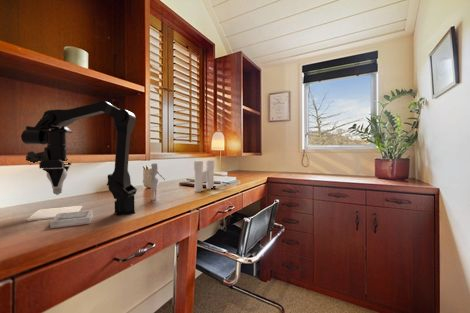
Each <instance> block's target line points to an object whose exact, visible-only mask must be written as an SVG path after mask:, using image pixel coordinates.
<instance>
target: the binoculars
mask: <svg viewBox="0 0 470 313" xmlns="http://www.w3.org/2000/svg"><path fill="white" fill-rule="evenodd" d="M205 169H206V170H204V161H203V160H194V161H193V170H194V192H196V193H201V191H202V192H203V187H204V186H203V183H206V184H205V186H206V187H205V188H206V189H207V190H212V189H211V188H213V185H214V186H215V183H214V179H215V178H214V175H215V171H214V169H215V160H214V159H213V160H211V159H206V160H205ZM213 189H214V188H213Z"/></svg>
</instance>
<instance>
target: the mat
mask: <svg viewBox="0 0 470 313" xmlns="http://www.w3.org/2000/svg"><path fill="white" fill-rule="evenodd" d="M82 208H83V205H75V206H73V205H72V206H65V207H62V206H61V207H53V208H41V209H38V210H37V211H35V213H33V214H32V215H31V216H29V217H28V218H26V222H30V221H31V222H32V221H41V220H52V219H53V218H54V217H55V216H56V215H57V214H58V213H67V212H77V211H82V210H81V209H82Z"/></svg>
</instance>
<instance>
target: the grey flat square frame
mask: <svg viewBox="0 0 470 313" xmlns="http://www.w3.org/2000/svg"><path fill="white" fill-rule="evenodd" d="M93 216H94V209H90V210H89V209H88V210H80V211H77V212H67V213H58V214H57V215H56V216H55V217H54V218H52V219H51V220H50V222H49V229H57V228H65V227H73V226H80V225H88V224H89V225H90V224H91V222H92V220H93Z"/></svg>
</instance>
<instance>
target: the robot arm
mask: <svg viewBox="0 0 470 313" xmlns="http://www.w3.org/2000/svg"><path fill="white" fill-rule="evenodd" d="M102 114H106V115H108V116H109V117H112V118H113V123H114V124H113V125H114V127H115V130H116V144H115V159H114V170H113V172H112V173H111V174H107V183H106V187H107V188H108V192H109V191H110V192H111V194H112V196H113V199H115V200H114V213H115V215H116V216H121V215H129V214H130V215H131V214H136V210H135V195H136V194H137V188H136V187H135V186H134V185H133V184H132V181H131V175H130V172H129V156H130V155H129V154H130V143H131V142H130V141H131V134H132V132H133V130H134V128H135V124H136V119H137V118H136V115H135V113H133V112H131V111H129V110H127V109H124V108H118V107H117V106H115V105H113V104H111V102H108V101H106V100H104V99H103V100H99V101H97V102H93V103H89V104H84V105H81V106H77V107H73V108H68V109H59V108H58V109H48V110H46V111H44V112H43V115H42V117H41V118H40V119H39V121H38V122H37V124H36V125H35V126H31V125H30V126H29V125H26V127H25V129H24V130H22V132H21V134H20V138H21V141H22V142H23V143H24V144H25V145H46V146H45V147H44V150H43V151H41V152H36V151H34V150H32V151H28V152H27V155H25V161H27V162H28V161H30V162H33V163H35V162H38V161H40V162H38V165H39V166H38V168H39V169H42V170H43V171H45V172H46V173H47V172H48V173H49V175H50V178H51V181H52V183H53V186H54V187H57V186H58V184H59V182H60V179H61V177H62V174H63V172H64V169H66V171H67V172H68V171H69V169H70V167H71V166H72V162H71V163H68V164H64V162H63V161H67V160H68V159H67V158H68V157H67V151H68V147H67V134H71V133H73V131H72V130H71V129H70V128H69V127H68V126H69V125H72V124H73V123H74V122H76V121H79V120H83V119H86V118H89V117H94V116H97V115H102ZM30 165H32V164H29V166H30Z"/></svg>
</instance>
